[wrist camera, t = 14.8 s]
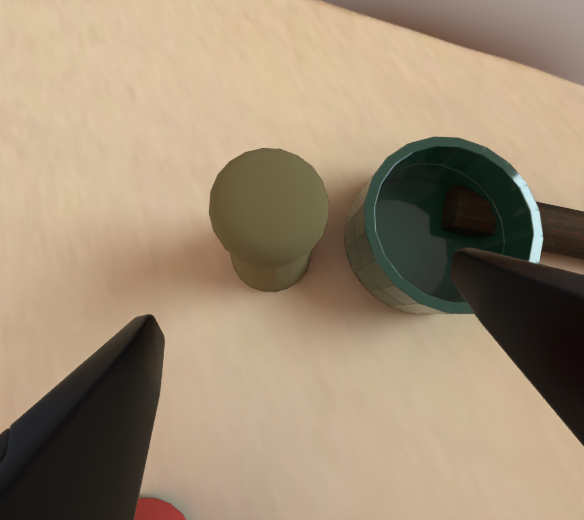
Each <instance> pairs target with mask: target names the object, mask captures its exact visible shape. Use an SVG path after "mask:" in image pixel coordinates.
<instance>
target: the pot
mask: <svg viewBox="0 0 584 520" xmlns="http://www.w3.org/2000/svg"><path fill="white" fill-rule="evenodd" d="M455 185H459V186H464V187H469V188H471V189H472V190H473V191H475V192H476V193H478V194H479V195H480V196H482V197H483V198H484V199H486V200H487V201H488V202H489V203H490V205H491V208H492V210H493V212H494V214H495V217H496V222H497V224H496V228H495V232H494V234H493V235H491V236H488V237H485V238H481V237H476V236H471V235H466V234H461V233H457V232H452V231H447V230H444V229H443V226H442V213H443V203H444V199H445V196H446V193H447V191H448V190H449V189H451V188H452V187H453V186H455ZM538 209H539V208H538V206H537V204H536V201H535V199H534V197H533V195H532V193H531V191H530V189H529V187H528V185H527V183H526V182H525V180H524V179H523V178H522V177H521V176H520V175H519V173H518V172H517V171H516V170H515V169H514V168H513V166H512V165H511V164H510V163H508V162H507V161H506V160H504V159H503V158H501V157H500V156H499V155H497V154H496V153H494V152H493V151H491V150H490V149H488V148H487V147H486V148H485V146H482V145H479V144H476V143H473V142H470V141H467V140H464V139H461V138H453V137H431V138H427V139H423V140H420V141H416V142H412V143H409V144H406V145H405V146H403V147H402V148H400V149H399V150H397V151H396V152H394V153H393V154H391V155H390V156H388V157H387V158H386V159H385V161H384V162H383V163H382V165H381V166H380V168H379V169H378V170H377V172H376V173H375V174H374V176H373V177H372V178H371V180H370V181H369V182H368V184H367V185H366V187H365V188H364V189H363V191H362V192H361V193H360V195H359V196H358V197H357V199H356V200H355V202H354V203H353V205H352V207H351V209H350V212H349V215H348V218H347V222H346V227H345V246H346V251H347V256H348V259H349V262H350V265H351V267H352V269H353V271H354V273H355V275H356V276H357V278H358V279H359V281H360V282H361V283H362V284H363V286H364V287H365V288H366V289H367V290H368V291H369V292H370V293H371V294H372V295H373V296H375V297H376V298H377V299H379V300H380V301H381V302H383V303H385V304H387V305H389V306H391V307H393V308H396V309H398V310H401V311H405V312H409V313H413V314H474V312H473V311H472V309H471V308H470V306H469V305H468V303H467V302H466V300H465V299H464V297H463V296H462V294H461V293H460V291H459V290H458V288H457V287H456V285H455V284H454V282H453V281H452V279H451V275H450V271H451V265H452V259H453V254H454V252H455V251H456V250H457V249H462V248H467V247H472V248H476V249H480V250H484V251H488V252H492V253H497V254H501V255H505V256H509V257H513V258H517V259H521V260H525V261H529V262H533V263H537V264H539V262H540V256H541V250H542V244H543V231H542V225H541V218H540V211H539V210H538Z"/></svg>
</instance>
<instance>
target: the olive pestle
mask: <svg viewBox="0 0 584 520" xmlns="http://www.w3.org/2000/svg"><path fill="white" fill-rule="evenodd" d="M209 216H210V219H211V223H212V227H213V231H214V233H215V234H216V236H217V237H218V239H219V240H220V242H221V243H222V245H223V246H224V247H225V249H226V250H228V251H229V252H230V253H231V259H232V263H233V266H234V269H235V271H236V272H237V274H238V275H239V277H240V278H241V279H242V280H243V281H244V282H245V283H247V284H248V285H249V286H251V287H253V288H255V289H258V290H261V291H271V292H277V291H280V290H283V289H287V288H289V287H291V286H292V285H293V284H295V283H296V282H298V281H299V280H300V279H301V277H302V276H303V275H304V273H305V272H306V270H307V267H308V265H309V262H310V251H311V250H312V249H313V247H314V246H315V245H316V243H317V242H318V241H319V240H320V238H321V237H322V235H323V232H324V230H325V227H326V224H327V221H328V196H327V193H326V190H325V187H324V184H323V181H322V179H321V178H320V176H319V175H318V174H317V172H316V171H315V170H314V168H313V167H312V166H311V165H310V164H309V163H307V162H306V161H305V160H303V159H302V158H300V157H299V156H298V155H295V154H292V153H290V152H287V151H284V150H281V149H271V148H261V149H257V150H253V151H248V152H245V153H243V154H241V155H240V156H238V157H236V158H235V159H233V160H231V161H230V162H229V163H228V164H227V165H226V166H225V167H224V168H223V169H222V170H221V172H220V173H219V174H218V175H217V177H216V180H215V182H214V184H213V187H212V189H211V193H210V206H209Z"/></svg>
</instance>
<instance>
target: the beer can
mask: <svg viewBox="0 0 584 520" xmlns="http://www.w3.org/2000/svg"><path fill="white" fill-rule="evenodd" d="M134 520H186V519H185V517H184V516H183V514H182V513H181V512H179V511H178V510H177V509H176V508H175V507H174V506H173V505H171V504H170V503H167V502H164V501H161V500H159V499H156V498H139V499H138V502H137V507H136V512H135V517H134Z"/></svg>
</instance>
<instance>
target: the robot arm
mask: <svg viewBox="0 0 584 520" xmlns="http://www.w3.org/2000/svg"><path fill="white" fill-rule="evenodd" d="M450 275H451V279H452V281H453V282H454V284H455V285H456V287H457V288H458V290H459V291H460V293H461V294H462V296H463V297H464V299H465V300H466V302H467V303H468V305H469V306H470V308H471V309H472V311H473V312H474V314H475V315H476V317H477V318H478V319H479V321H480V322H481V323H482V324H483V326H484V327H485V328H486V329H487V331H488V332H489V333H490V334H491V335H492V337H493V338H494V339H495V340H496V341H497V343H498V344H499V345H500V346H501V347H502V349H503V350H504V351H505V352H506V353H507V355H508V356H509V357H510V358H511V359H512V361H513V362H514V363H515V364H516V365H517V367H518V368H519V369H520V370H521V371H522V373H523V374H524V375H525V376H526V378H527V379H528V380H529V381H530V382H531V384H532V385H533V386H534V387H535V388H536V390H537V391H538V392H539V393H540V394H541V396H542V397H543V398H544V399H545V400H546V402H547V403H548V404H549V405H550V406H551V408H552V409H553V410H554V411H555V412H556V414H557V415H558V416H559V417H560V418H561V420H562V421H563V422H564V423H565V424H566V426H567V427H568V428H569V429H570V430H571V432H572V433H573V434H574V435H575V436H576V438H577V439H578V440H579V441H580V442H581V444H582V445H583V446H584V275H582V274H578V273H574V272H570V271H566V270H562V269H558V268H554V267H550V266H546V265H541V264H537V263H533V262H529V261H525V260H521V259H517V258H513V257H509V256H505V255H501V254H497V253H492V252H488V251H484V250H480V249H476V248H472V247H467V248H462V249H457V250H456V251H455V252H454V254H453V259H452V265H451V271H450ZM164 346H165V338H164V335H163V333H162V331H161V329H160V327H159V325H158V323H157V321H156V319H155V318H154V316H153V315H151V314H148V315H143V316H138V317H136V318H134V319H133V320H132V321H131V322H130V323H129V324H127V325H126V326H125V327H124V328H123V329H122V330H120V331H119V332H118V333H117V334H116V335H115V336H113V337H112V338H111V339H110V340H109V341H108V342H107V343H105V344H104V345H103V346H102V347H101V348H100V349H98V350H97V351H96V352H95V353H94V354H93V355H92V356H90V357H89V358H88V359H87V360H86V361H85V362H83V363H82V364H81V365H80V366H79V367H78V368H76V369H75V370H74V371H73V372H72V373H71V374H70V375H68V376H67V377H66V378H65V379H64V380H63V381H61V382H60V383H59V384H58V385H57V386H56V387H54V388H53V389H52V390H51V391H50V392H49V393H48V394H46V395H45V396H44V397H43V398H42V399H41V400H39V401H38V402H37V403H36V404H35V405H34V406H33V407H31V408H30V409H29V410H28V411H27V412H26V413H24V414H23V415H22V416H21V417H20V418H19V419H17V420H16V421H15V422H14V423H13V424H12V425H11V426H10V428H8V429H6V430H5V431H3V432H2V433H1V434H0V520H134V517H135V512H136V507H137V502H138V498H139V493H140V488H141V483H142V478H143V473H144V469H145V464H146V459H147V454H148V449H149V445H150V440H151V435H152V430H153V425H154V420H155V416H156V411H157V406H158V401H159V396H160V389H161V380H162V368H163V357H164Z"/></svg>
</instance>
